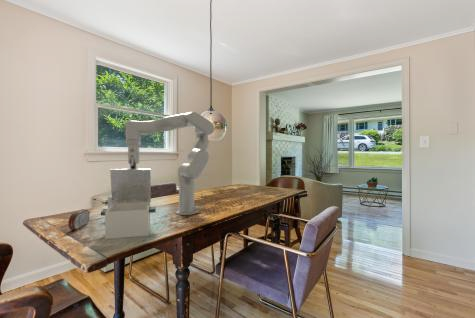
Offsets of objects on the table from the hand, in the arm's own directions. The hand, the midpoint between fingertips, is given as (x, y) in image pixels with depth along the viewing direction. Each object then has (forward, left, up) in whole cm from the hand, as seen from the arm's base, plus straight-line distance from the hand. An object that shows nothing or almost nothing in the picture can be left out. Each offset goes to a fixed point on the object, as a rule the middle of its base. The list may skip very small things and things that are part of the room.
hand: (133, 176), depth 135 cm
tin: (+25, +4, -25) cm, 36 cm away
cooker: (0, +17, -25) cm, 30 cm away
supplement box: (+10, -11, -25) cm, 29 cm away
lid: (0, +10, -4) cm, 11 cm away
